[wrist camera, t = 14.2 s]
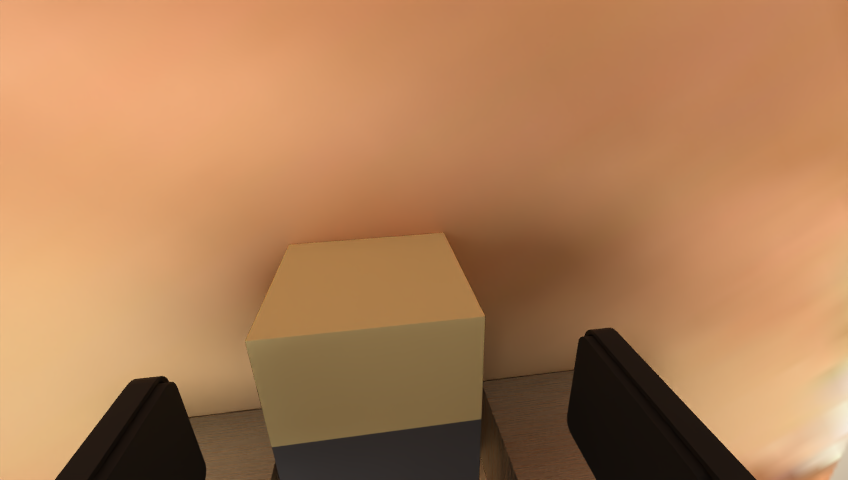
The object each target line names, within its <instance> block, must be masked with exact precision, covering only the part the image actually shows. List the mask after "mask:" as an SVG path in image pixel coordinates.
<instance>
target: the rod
mask: <svg viewBox="0 0 848 480" xmlns="http://www.w3.org/2000/svg"><path fill="white" fill-rule="evenodd" d="M484 334H485V315H484V313H483V311H482V309H481V307H480V305H479V303H478V301H477V299H476V297H475V295H474V293H473V291H472V289H471V287H470V285H469V283H468V281H467V279H466V277H465V275H464V273H463V271H462V269H461V267H460V265H459V263H458V261H457V259H456V257H455V254H454V252H453V250H452V248H451V246H450V244H449V242H448V240H447V238H446V236H445V234H444V233H432V234H419V235H406V236H393V237H380V238H367V239H354V240H342V241H329V242H316V243H303V244H290V245H289V246H288V248H287V250H286V252H285V254H284V257H283V259H282V261H281V263H280V265H279V268H278V270H277V272H276V274H275V277H274V279H273V281H272V283H271V285H270V288H269V290H268V292H267V294H266V296H265V299H264V301H263V303H262V305H261V307H260V310H259V312H258V314H257V316H256V318H255V321H254V323H253V325H252V327H251V329H250V332H249V334H248V336H247V338H246V340H245V343H246V347H247V351H248V355H249V359H250V363H251V367H252V371H253V375H254V379H255V383H256V387H257V391H258V395H259V399H260V403H261V407H262V411H263V415H264V419H265V423H266V427H267V431H268V435H269V439H270V443H271V447H272V450H273V454H274V458H275V462H276V466H277V470H278V474H279V478H280V480H479V468H480V441H481V414H482V387H483V361H484Z"/></svg>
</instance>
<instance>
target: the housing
mask: <svg viewBox="0 0 848 480" xmlns="http://www.w3.org/2000/svg"><path fill="white" fill-rule="evenodd" d="M573 374H574V370H572V371H563V372H555V373H547V374H539V375H531V376H523V377H515V378H507V379H499V380H491V381H483V387H482V414H481V441H480V458H481V461H482V465H483V468H484V471H485V475H486V478H487V480H596V478H595V477H594V475H593V473H592V471H591V469H590V468H589V466H588V464H587V462H586V460H585V459H584V457H583V455H582V453H581V451H580V450H579V448H578V446H577V444H576V442H575V440H574V439H573V437H572V435H571V433H570V431H569V428H568V425H567V412H568V405H569V399H570V393H571V386H572V380H573ZM189 420H190V423H191V426H192V428H193V431H194V434H195V436H196V439H197V442H198V445H199V447H200V450H201V453H202V455H203V458H204V461H205V464H206V478H205V480H280V478H279V474H278V470H277V466H276V462H275V458H274V454H273V450H272V447H271V443H270V439H269V435H268V431H267V427H266V423H265V419H264V415H263V411H262V409H258V410H250V411H242V412H234V413H226V414H218V415H209V416H201V417H193V418H189Z"/></svg>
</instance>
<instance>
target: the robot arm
mask: <svg viewBox="0 0 848 480" xmlns="http://www.w3.org/2000/svg"><path fill="white" fill-rule="evenodd" d="M567 425H568V428H569V431H570V433H571V435H572V437H573V439H574V440H575V442H576V444H577V446H578V448H579V450H580V451H581V453H582V455H583V457H584V459H585V460H586V462H587V464H588V466H589V468H590V469H591V471H592V473H593V475H594V477H595V478H596V480H756V479H755V478H754V477H753V476H752V475H751V473H750V472H749V471H748V470H747V469H746V468H745V467H744V466H743V465H742V464H741V463H740V462H739V461H738V460H737V459H736V458H735V456H734V455H733V454H732V453H731V452H730V451H729V450H728V449H727V448H726V447H725V446H724V445H723V444H722V443H721V442H720V441H719V440H718V438H717V437H716V436H715V435H714V434H713V433H712V432H711V431H710V430H709V429H708V428H707V427H706V426H705V425H704V424H703V423H702V421H701V420H700V419H699V418H698V417H697V416H696V415H695V414H694V413H693V412H692V411H691V410H690V409H689V408H688V407H687V406H686V405H685V403H684V402H683V401H682V400H681V399H680V398H679V397H678V396H677V395H676V394H675V393H674V392H673V391H672V390H671V389H670V388H669V386H668V385H667V384H666V383H665V382H664V381H663V380H662V379H661V378H660V377H659V376H658V375H657V374H656V373H655V372H654V371H653V370H652V368H651V367H650V366H649V365H648V364H647V363H646V362H645V361H644V360H643V359H642V358H641V357H640V356H639V355H638V354H637V353H636V351H635V350H634V349H633V348H632V347H631V346H630V345H629V344H628V343H627V342H626V341H625V340H624V339H623V338H622V337H621V336H620V335H619V333H618V332H617V331H615V330H614V329H613V328H603V329H594V330H588V331H587V332H586V333H585V336H584V337H581V338H580V339H579V342H578V348H577V355H576V361H575V367H574V374H573V380H572V386H571V393H570V399H569V405H568V412H567ZM205 478H206V464H205V461H204V458H203V455H202V453H201V450H200V447H199V445H198V442H197V439H196V436H195V434H194V431H193V428H192V426H191V423H190V420H189V418H188V415H187V412H186V409H185V407H184V404H183V401H182V399H181V396H180V393H179V390H178V388H177V386H176V384H175V383H174V382H169V381H168V379H167V378H166V377H163V376H159V377H150V378H141V379H134V380H132V381H131V382H130V383H129V384H128V385H127V386H126V387H125V389H124V390H123V391H122V393H121V394H120V395H119V396H118V398H117V399H116V400H115V402H114V403H113V404H112V406H111V407H110V408H109V410H108V411H107V412H106V413H105V415H104V416H103V417H102V419H101V420H100V421H99V423H98V424H97V425H96V427H95V428H94V429H93V431H92V432H91V433H90V434H89V436H88V437H87V438H86V440H85V441H84V442H83V444H82V445H81V446H80V448H79V449H78V450H77V451H76V453H75V454H74V455H73V457H72V458H71V459H70V461H69V462H68V463H67V465H66V466H65V467H64V468H63V470H62V471H61V472H60V474H59V475H58V476H57V478H56V479H55V480H205Z"/></svg>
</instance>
